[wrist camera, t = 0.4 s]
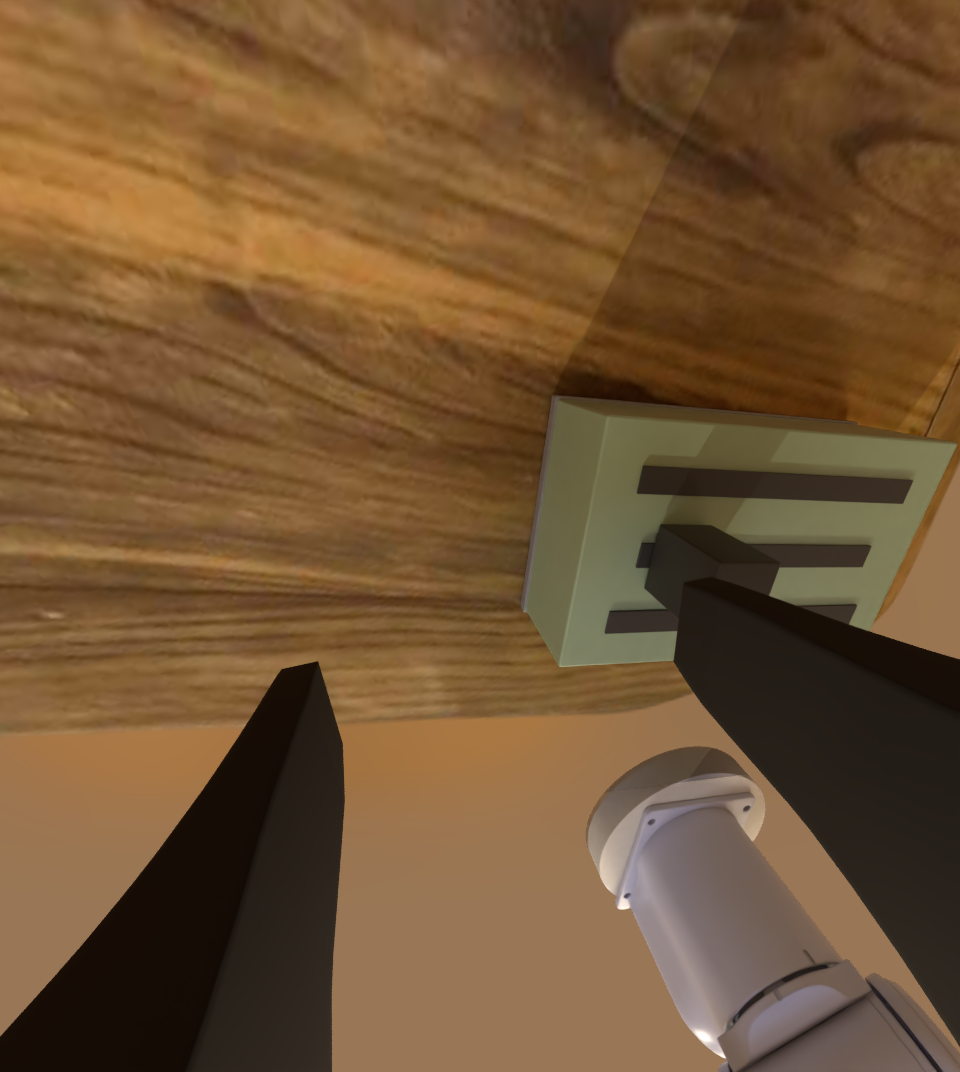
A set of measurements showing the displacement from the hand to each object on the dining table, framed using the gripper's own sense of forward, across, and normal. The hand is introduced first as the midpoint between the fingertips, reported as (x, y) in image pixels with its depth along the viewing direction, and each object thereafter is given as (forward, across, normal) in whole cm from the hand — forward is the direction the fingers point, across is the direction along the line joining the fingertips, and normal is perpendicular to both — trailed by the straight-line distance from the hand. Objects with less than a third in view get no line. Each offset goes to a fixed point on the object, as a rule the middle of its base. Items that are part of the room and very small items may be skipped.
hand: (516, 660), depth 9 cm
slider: (+5, -7, +2) cm, 9 cm away
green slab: (+10, -11, +3) cm, 15 cm away
